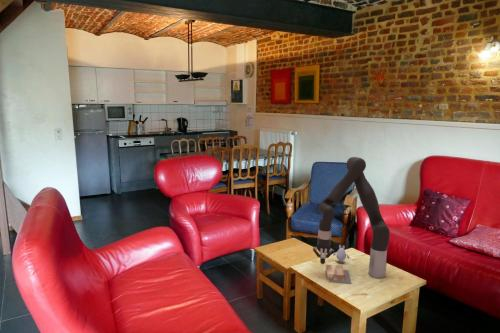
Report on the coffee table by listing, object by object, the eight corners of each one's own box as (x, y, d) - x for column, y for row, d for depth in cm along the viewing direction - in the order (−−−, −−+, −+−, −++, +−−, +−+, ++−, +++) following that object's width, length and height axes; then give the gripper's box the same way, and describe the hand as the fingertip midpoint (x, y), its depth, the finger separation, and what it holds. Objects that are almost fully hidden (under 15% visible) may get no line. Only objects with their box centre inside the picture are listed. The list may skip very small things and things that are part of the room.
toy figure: (349, 262, 234) (351, 245, 232) (348, 266, 229) (349, 248, 226) (333, 258, 239) (334, 242, 236) (331, 262, 233) (332, 245, 231)
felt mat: (348, 270, 222) (348, 270, 222) (351, 283, 207) (351, 283, 207) (327, 269, 224) (327, 268, 224) (329, 282, 209) (329, 281, 209)
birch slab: (325, 269, 222) (342, 271, 221) (327, 279, 211) (344, 280, 209) (326, 264, 222) (342, 265, 220) (327, 273, 210) (344, 275, 209)
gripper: (335, 235, 215) (333, 261, 218) (312, 233, 217) (311, 259, 220) (336, 240, 208) (334, 267, 211) (313, 238, 209) (311, 265, 213)
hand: (322, 263), depth 215 cm, fingers closed
